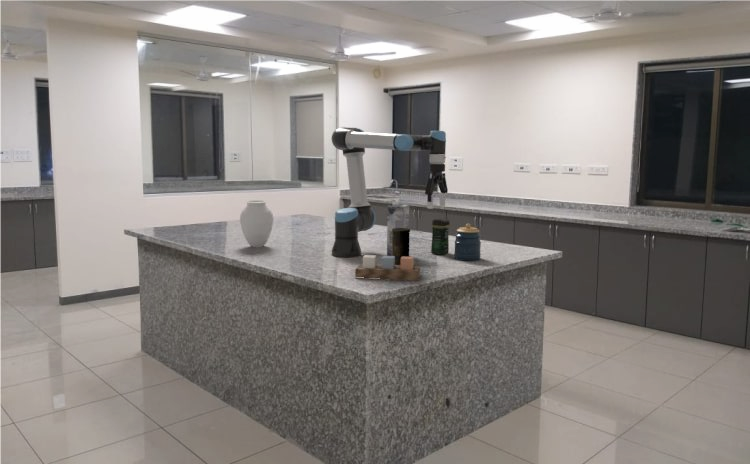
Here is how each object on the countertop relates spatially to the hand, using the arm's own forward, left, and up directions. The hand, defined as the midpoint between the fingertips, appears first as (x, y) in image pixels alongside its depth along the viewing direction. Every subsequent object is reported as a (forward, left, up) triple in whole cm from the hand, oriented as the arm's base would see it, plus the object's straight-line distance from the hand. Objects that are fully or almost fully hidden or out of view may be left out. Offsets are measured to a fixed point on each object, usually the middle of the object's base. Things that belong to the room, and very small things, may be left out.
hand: (436, 207), depth 279 cm
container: (-14, -24, -26) cm, 38 cm away
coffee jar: (+2, +17, -26) cm, 31 cm away
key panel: (-17, -43, -26) cm, 53 cm away
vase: (-98, +18, -26) cm, 103 cm away
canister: (+16, +5, -26) cm, 31 cm away
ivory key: (-25, -43, -23) cm, 55 cm away
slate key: (-17, -43, -23) cm, 52 cm away
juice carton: (-19, +7, -26) cm, 33 cm away
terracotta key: (-9, -43, -23) cm, 50 cm away
